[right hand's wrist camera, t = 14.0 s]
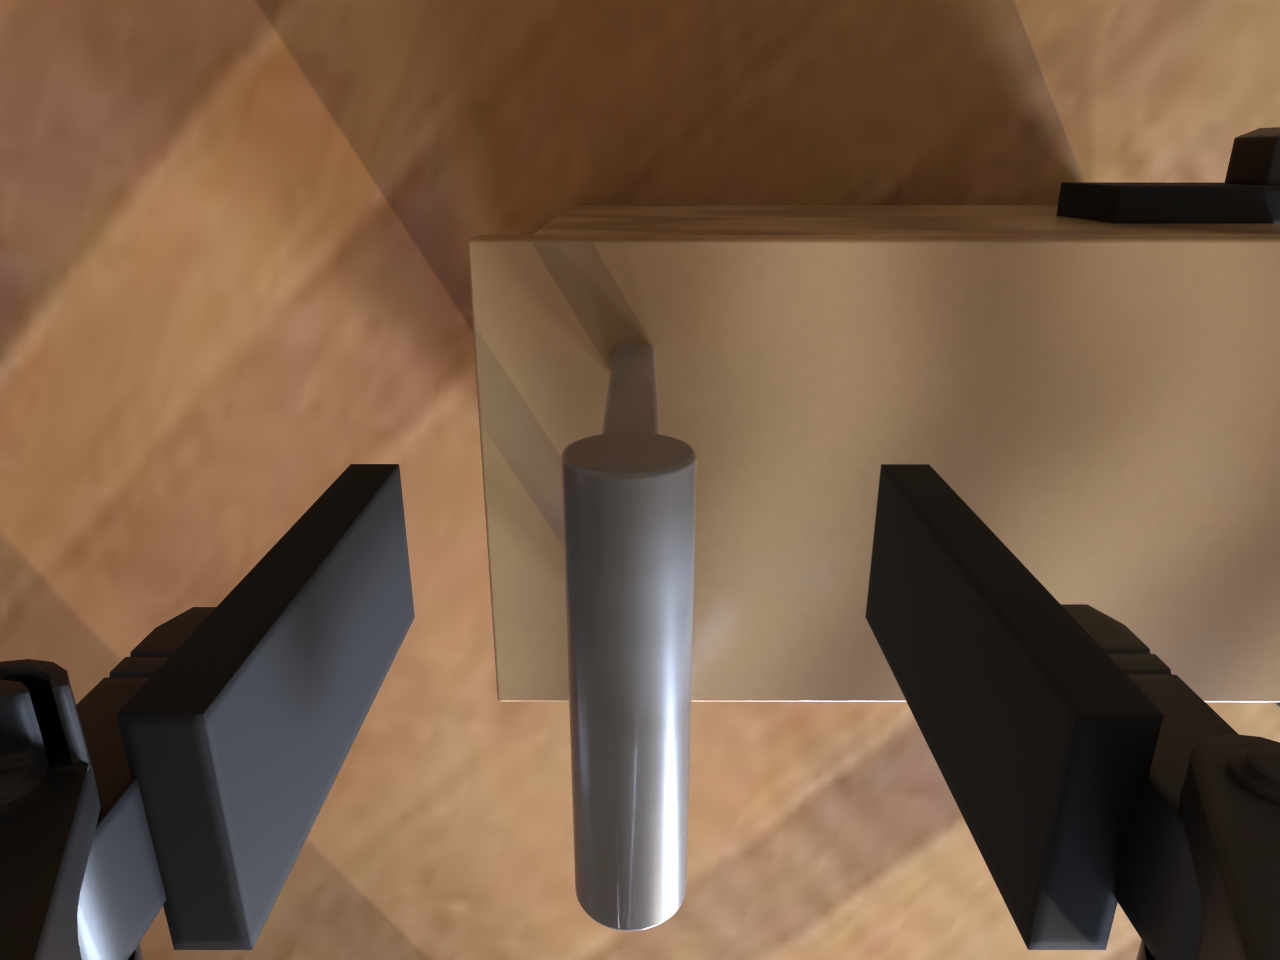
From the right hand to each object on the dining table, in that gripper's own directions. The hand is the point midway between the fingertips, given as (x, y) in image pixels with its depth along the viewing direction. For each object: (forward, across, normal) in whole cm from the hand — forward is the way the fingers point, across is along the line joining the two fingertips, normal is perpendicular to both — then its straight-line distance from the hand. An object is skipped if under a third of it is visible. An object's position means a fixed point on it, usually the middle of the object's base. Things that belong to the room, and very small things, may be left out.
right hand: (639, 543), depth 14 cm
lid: (+3, -5, 0) cm, 6 cm away
